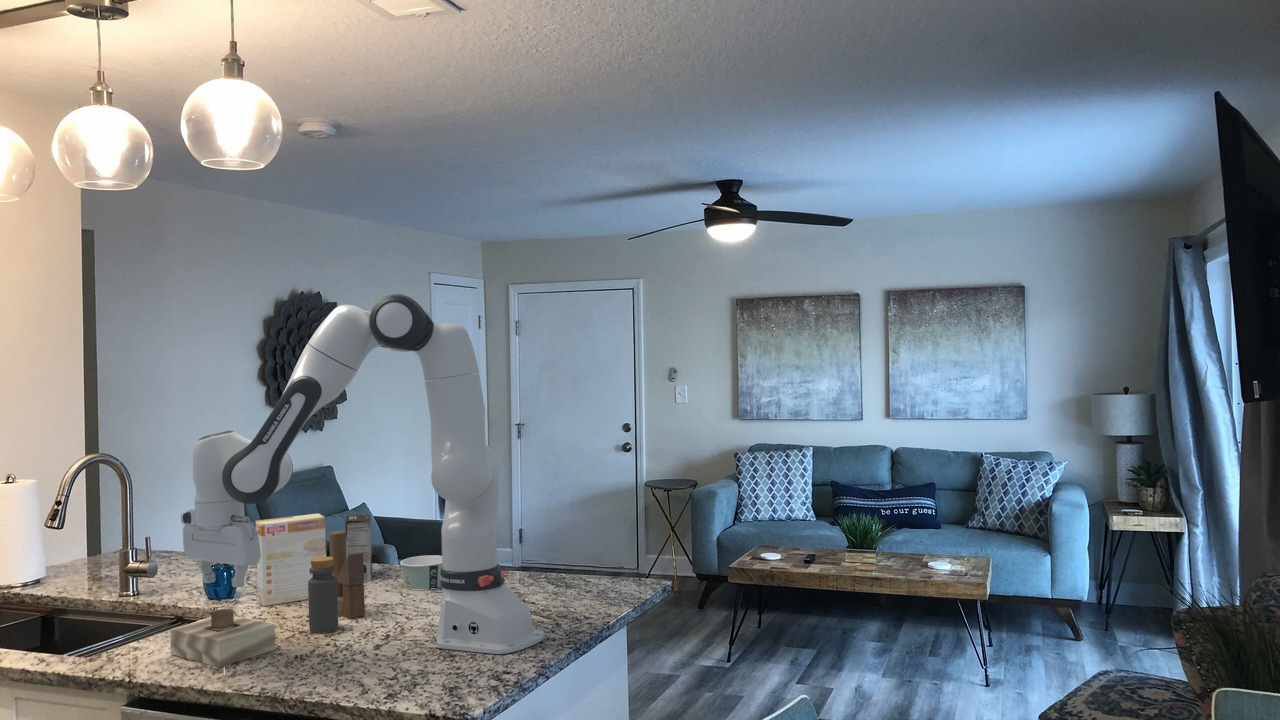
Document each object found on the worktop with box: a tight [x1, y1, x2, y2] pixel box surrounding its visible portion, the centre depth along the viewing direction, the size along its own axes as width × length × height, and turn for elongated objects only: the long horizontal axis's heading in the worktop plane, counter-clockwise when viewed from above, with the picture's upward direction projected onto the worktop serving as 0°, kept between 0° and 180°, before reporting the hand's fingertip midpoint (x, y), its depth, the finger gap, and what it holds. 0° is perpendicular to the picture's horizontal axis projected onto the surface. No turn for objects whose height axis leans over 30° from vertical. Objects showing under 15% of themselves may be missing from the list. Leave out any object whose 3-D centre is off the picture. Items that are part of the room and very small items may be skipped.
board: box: [169, 615, 276, 668], centre depth 184 cm, size 16×12×5 cm
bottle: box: [307, 556, 339, 634], centre depth 198 cm, size 6×6×15 cm
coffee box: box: [344, 514, 373, 583], centre depth 245 cm, size 9×6×16 cm
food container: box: [399, 554, 442, 589], centre depth 235 cm, size 12×12×6 cm
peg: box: [210, 608, 234, 632], centre depth 184 cm, size 4×4×8 cm
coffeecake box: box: [255, 513, 327, 607], centre depth 226 cm, size 15×7×20 cm, turn 123°
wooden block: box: [329, 530, 366, 620], centre depth 211 cm, size 4×11×18 cm, turn 44°
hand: (223, 584), depth 184 cm, fingers open, 8 cm apart
